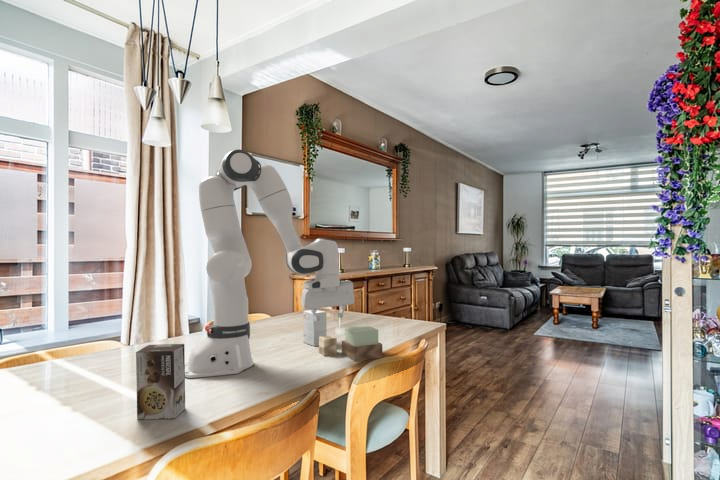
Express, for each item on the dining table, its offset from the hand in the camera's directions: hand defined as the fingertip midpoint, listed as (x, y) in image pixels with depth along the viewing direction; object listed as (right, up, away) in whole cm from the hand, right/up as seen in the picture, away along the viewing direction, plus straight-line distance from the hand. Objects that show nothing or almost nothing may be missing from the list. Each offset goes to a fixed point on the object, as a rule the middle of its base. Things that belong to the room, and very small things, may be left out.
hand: (329, 319), depth 145 cm
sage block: (+12, -8, -3) cm, 15 cm away
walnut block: (+12, -13, -3) cm, 18 cm away
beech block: (0, -13, 0) cm, 13 cm away
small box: (-7, -13, +14) cm, 21 cm away
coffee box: (-37, -13, -50) cm, 64 cm away
